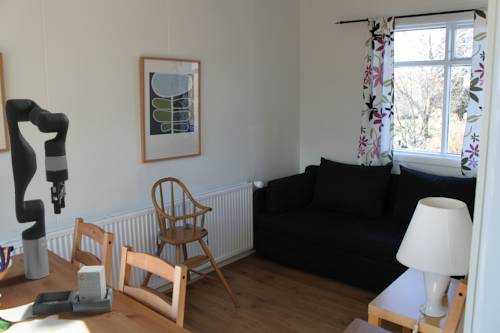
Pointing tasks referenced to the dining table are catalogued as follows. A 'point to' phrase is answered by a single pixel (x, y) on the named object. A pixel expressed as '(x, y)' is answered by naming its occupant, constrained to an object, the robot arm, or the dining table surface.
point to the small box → (91, 283)
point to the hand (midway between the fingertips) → (59, 211)
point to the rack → (93, 304)
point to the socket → (53, 307)
